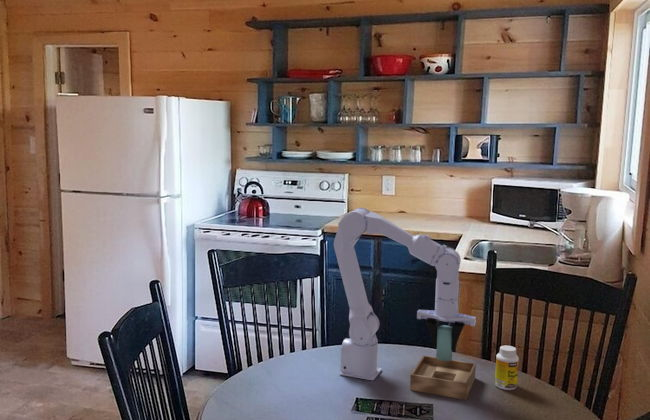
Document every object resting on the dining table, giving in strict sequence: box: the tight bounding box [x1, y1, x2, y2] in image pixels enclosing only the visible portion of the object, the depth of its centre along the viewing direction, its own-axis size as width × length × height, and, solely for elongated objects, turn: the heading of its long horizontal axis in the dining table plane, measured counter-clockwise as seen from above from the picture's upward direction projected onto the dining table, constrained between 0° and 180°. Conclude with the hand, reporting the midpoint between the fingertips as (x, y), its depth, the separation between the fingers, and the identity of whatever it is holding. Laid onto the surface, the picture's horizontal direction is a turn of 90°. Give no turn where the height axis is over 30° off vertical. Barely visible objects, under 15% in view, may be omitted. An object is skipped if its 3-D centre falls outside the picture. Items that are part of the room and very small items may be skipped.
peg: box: [435, 324, 453, 361], centre depth 151 cm, size 4×4×8 cm
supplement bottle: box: [494, 345, 520, 391], centre depth 151 cm, size 6×6×10 cm
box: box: [409, 355, 477, 401], centre depth 152 cm, size 14×14×4 cm
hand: (444, 348), depth 151 cm, fingers closed on peg, 4 cm apart
